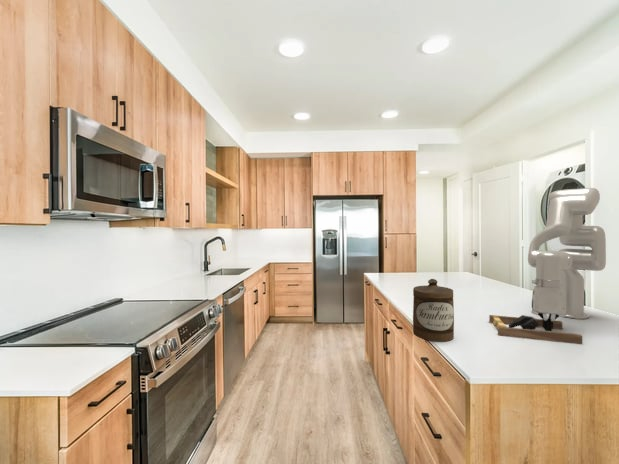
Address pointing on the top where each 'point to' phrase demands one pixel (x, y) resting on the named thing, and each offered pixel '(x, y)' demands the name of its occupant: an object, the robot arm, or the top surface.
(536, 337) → the brown wooden u-shaped frame
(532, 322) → the power plug
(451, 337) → the wooden container
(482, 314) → the top surface
